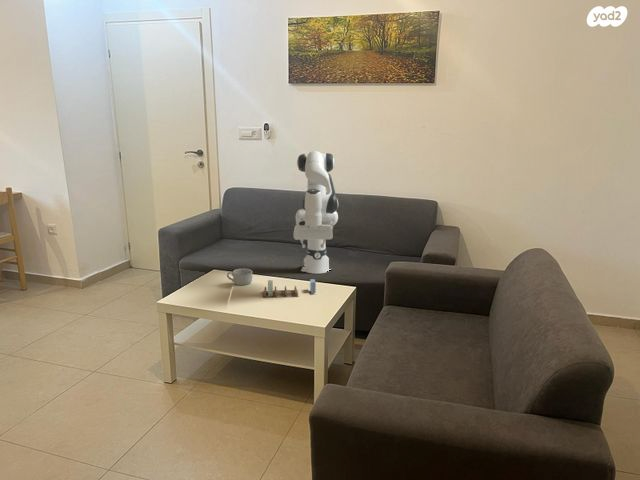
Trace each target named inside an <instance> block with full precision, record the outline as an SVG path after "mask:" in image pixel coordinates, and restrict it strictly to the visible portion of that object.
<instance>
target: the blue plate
mask: <svg viewBox="0 0 640 480" xmlns="http://www.w3.org/2000/svg"><path fill="white" fill-rule="evenodd" d="M309 281H310V282H309V292H310V291H311V293H310V295H314V294H313V293H317V292H316V289H317V285H316V279H314V278H313V279H310V280H309Z"/></svg>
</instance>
